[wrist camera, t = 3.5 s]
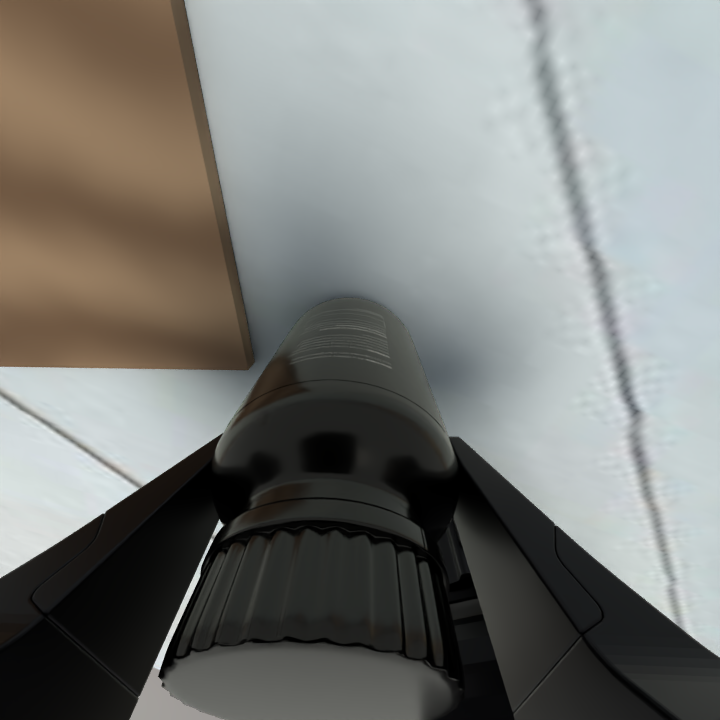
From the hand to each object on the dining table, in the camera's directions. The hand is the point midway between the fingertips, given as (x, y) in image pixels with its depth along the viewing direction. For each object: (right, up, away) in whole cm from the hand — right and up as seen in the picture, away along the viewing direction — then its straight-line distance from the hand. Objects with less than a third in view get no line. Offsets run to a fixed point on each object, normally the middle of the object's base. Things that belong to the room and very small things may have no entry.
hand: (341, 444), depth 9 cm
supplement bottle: (0, +3, +6) cm, 7 cm away
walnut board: (-14, +10, +4) cm, 17 cm away
